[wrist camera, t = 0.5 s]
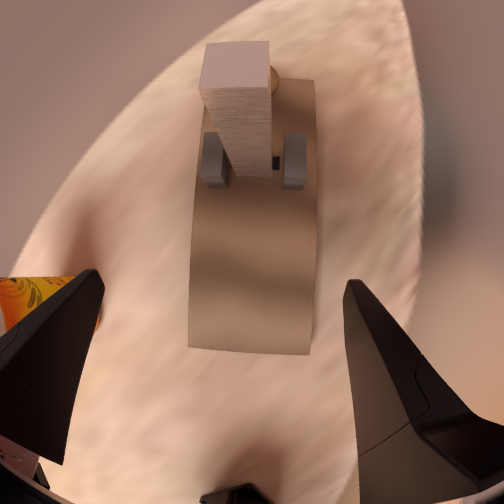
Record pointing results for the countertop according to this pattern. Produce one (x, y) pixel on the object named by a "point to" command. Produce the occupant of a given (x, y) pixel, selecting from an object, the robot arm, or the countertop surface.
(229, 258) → the base
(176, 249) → the countertop surface
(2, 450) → the robot arm
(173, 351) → the countertop surface
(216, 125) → the lever
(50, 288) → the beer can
